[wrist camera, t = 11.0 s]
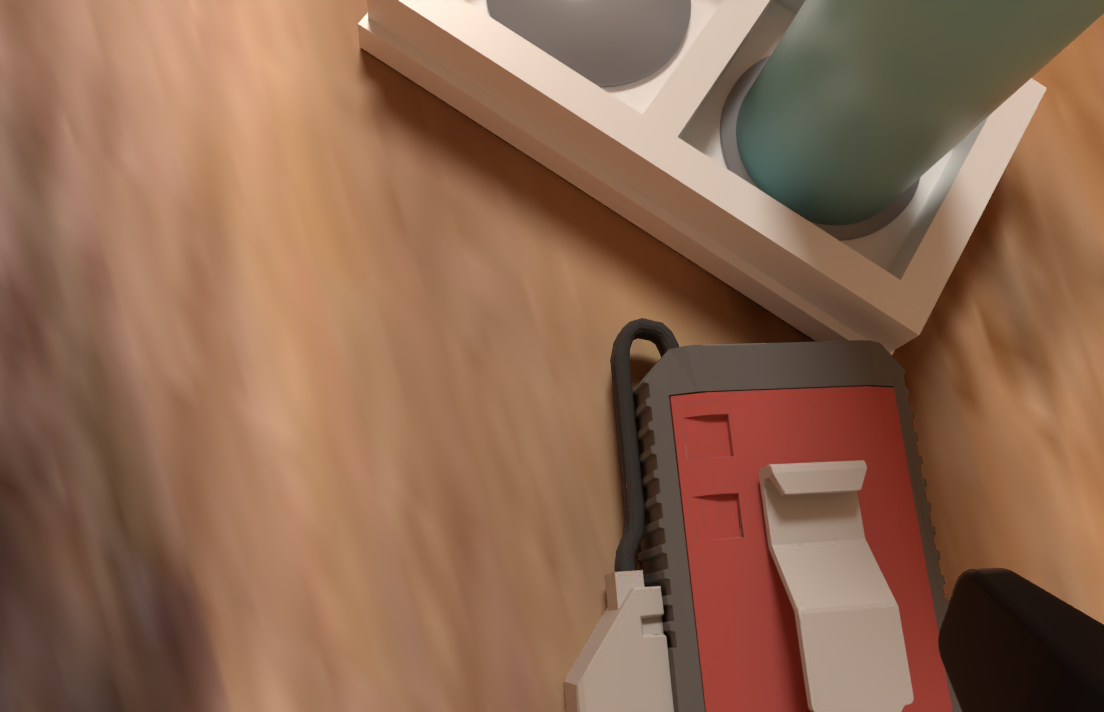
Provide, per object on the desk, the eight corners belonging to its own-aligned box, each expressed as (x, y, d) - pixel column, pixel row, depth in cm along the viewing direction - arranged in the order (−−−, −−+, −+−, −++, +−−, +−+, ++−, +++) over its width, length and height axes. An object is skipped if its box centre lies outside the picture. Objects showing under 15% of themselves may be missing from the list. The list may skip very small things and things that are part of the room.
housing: (868, 375, 25) (917, 347, 22) (359, 46, 25) (355, -15, 23) (998, 130, 28) (1053, 82, 25) (538, -161, 28) (551, -234, 26)
